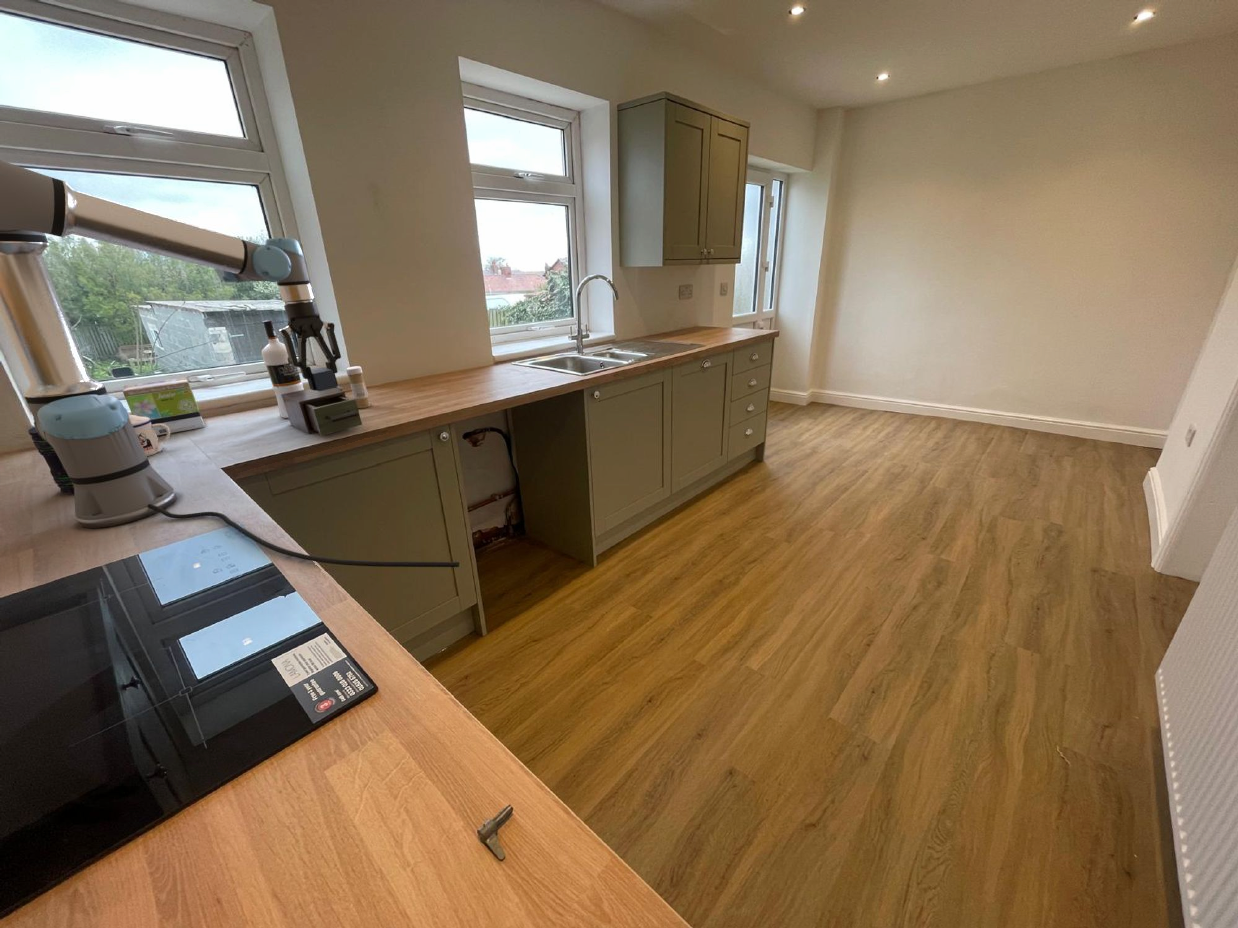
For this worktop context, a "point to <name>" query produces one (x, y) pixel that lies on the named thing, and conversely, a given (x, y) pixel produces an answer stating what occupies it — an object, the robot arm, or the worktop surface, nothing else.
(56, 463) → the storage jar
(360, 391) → the sprinkles bottle
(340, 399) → the drawer
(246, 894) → the worktop surface
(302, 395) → the cabinet
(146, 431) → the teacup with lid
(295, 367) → the vodka
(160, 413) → the tea box
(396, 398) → the worktop surface
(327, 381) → the block
